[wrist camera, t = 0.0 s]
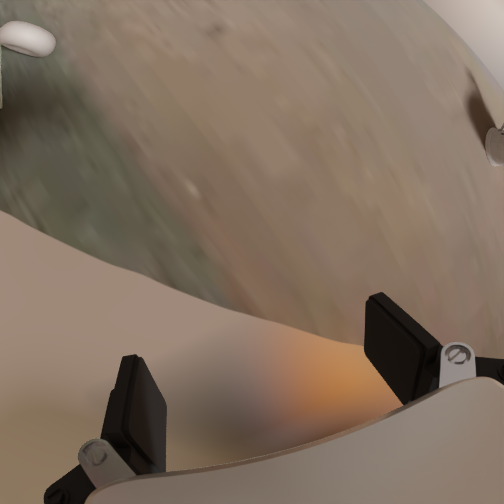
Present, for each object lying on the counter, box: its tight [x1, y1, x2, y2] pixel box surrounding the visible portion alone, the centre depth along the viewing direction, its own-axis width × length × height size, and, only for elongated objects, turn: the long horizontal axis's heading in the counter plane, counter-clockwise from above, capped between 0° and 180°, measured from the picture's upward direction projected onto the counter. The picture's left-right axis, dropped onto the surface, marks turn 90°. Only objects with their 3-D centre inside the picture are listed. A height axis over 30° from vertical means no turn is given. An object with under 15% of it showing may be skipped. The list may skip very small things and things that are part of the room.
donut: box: [0, 21, 56, 57], centre depth 22 cm, size 10×4×10 cm, turn 63°
